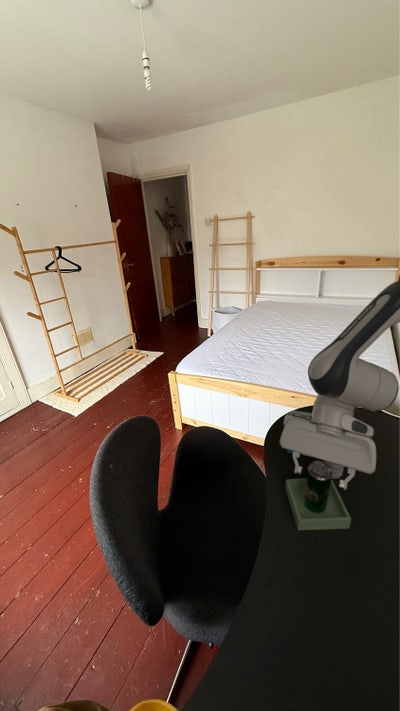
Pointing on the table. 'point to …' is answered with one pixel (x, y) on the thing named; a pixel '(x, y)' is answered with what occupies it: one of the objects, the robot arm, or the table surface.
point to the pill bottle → (335, 469)
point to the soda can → (317, 486)
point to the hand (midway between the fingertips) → (319, 481)
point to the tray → (309, 520)
